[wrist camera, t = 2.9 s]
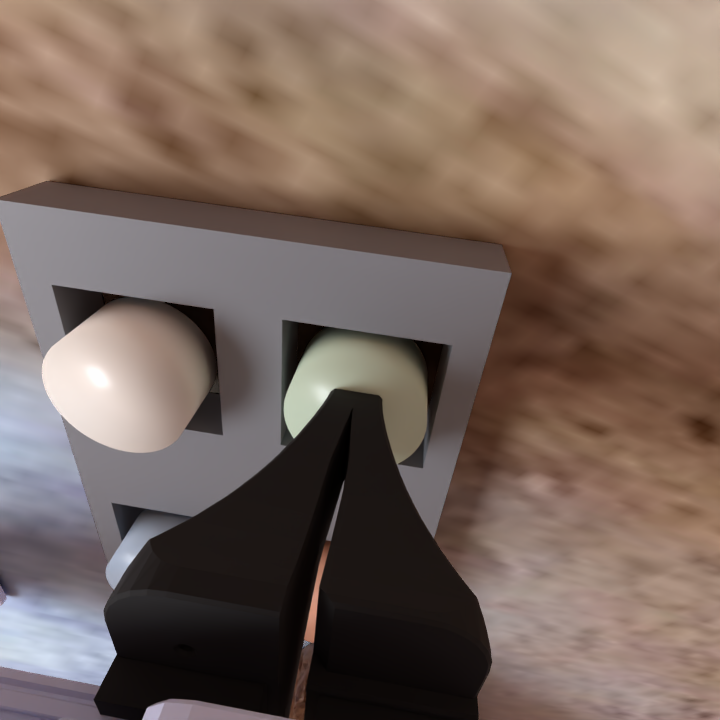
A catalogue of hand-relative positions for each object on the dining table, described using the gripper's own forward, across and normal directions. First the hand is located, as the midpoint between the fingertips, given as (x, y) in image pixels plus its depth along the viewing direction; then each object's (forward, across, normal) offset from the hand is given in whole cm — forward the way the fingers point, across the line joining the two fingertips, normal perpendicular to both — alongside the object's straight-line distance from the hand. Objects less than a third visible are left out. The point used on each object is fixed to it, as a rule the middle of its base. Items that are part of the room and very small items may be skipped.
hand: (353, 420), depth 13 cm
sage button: (+2, 0, 0) cm, 2 cm away
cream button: (+2, +6, 0) cm, 7 cm away
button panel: (+3, +3, +4) cm, 6 cm away
